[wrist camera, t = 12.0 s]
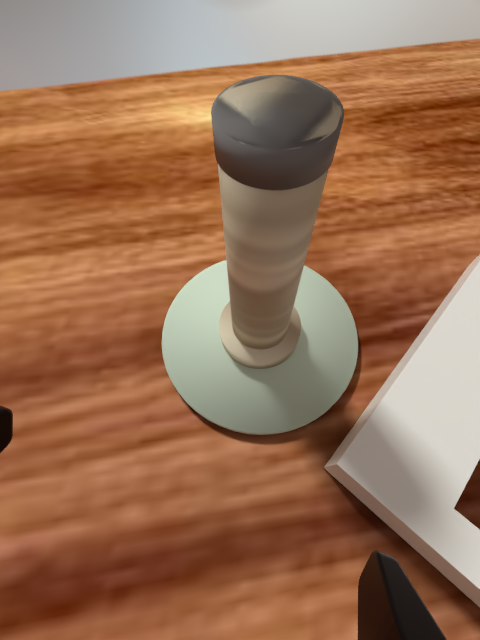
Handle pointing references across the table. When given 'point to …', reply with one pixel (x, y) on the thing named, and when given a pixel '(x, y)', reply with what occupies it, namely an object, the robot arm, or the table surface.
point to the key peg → (270, 205)
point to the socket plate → (426, 440)
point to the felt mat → (259, 384)
